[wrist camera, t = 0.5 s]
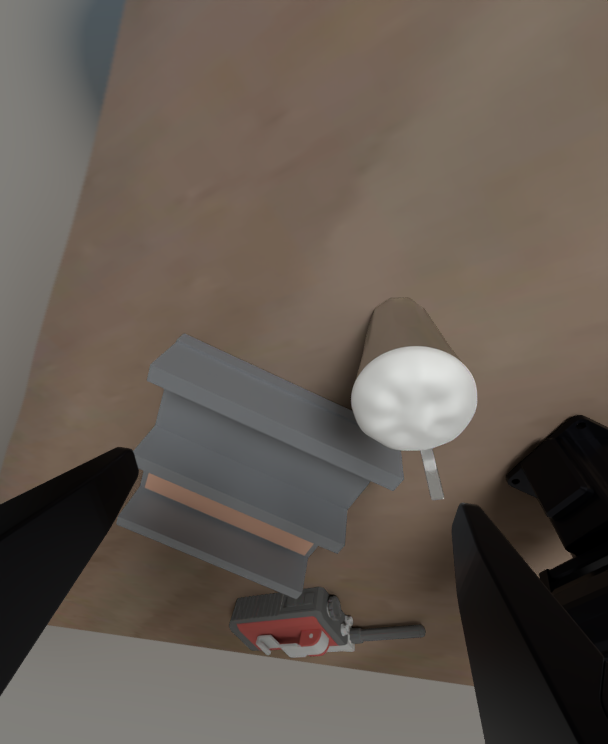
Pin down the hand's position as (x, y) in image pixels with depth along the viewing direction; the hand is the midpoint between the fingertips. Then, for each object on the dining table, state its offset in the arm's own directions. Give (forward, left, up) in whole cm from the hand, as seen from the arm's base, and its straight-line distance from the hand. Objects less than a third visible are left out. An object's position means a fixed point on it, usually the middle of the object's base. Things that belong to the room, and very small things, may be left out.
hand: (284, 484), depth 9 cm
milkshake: (-4, -1, -13) cm, 14 cm away
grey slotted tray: (0, +14, -13) cm, 19 cm away
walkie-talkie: (-13, +30, -14) cm, 36 cm away
